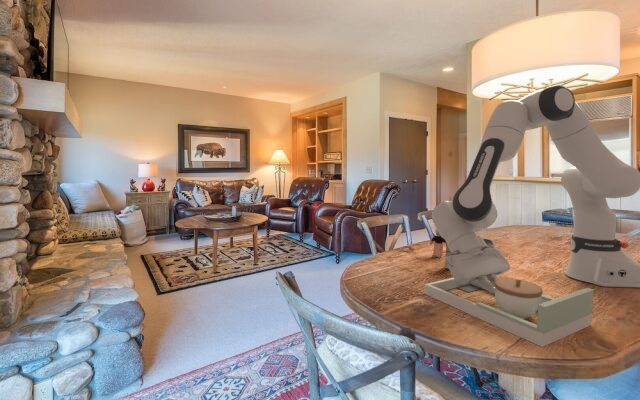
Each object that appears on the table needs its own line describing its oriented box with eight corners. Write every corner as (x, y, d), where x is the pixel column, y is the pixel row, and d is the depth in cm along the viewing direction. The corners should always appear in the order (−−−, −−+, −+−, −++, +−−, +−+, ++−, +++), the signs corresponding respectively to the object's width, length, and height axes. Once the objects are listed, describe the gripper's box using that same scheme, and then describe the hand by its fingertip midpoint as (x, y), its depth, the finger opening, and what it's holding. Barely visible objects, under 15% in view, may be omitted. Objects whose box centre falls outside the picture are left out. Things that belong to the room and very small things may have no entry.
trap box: (424, 293, 102) (424, 284, 102) (469, 282, 111) (469, 273, 111) (542, 346, 72) (542, 333, 71) (590, 325, 81) (591, 313, 81)
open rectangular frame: (476, 306, 86) (477, 283, 85) (524, 291, 95) (525, 271, 94) (543, 334, 71) (544, 307, 71) (592, 313, 81) (594, 289, 80)
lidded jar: (539, 328, 80) (542, 290, 79) (489, 315, 86) (492, 281, 85) (540, 311, 89) (543, 277, 88) (495, 301, 95) (498, 269, 94)
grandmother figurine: (428, 257, 142) (429, 228, 140) (429, 255, 145) (430, 226, 144) (448, 259, 139) (449, 229, 137) (448, 257, 142) (449, 227, 141)
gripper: (448, 247, 92) (478, 293, 85) (496, 239, 102) (526, 280, 94) (436, 259, 97) (462, 303, 89) (482, 250, 106) (510, 290, 98)
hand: (496, 291), depth 92 cm, fingers closed, pressing on lidded jar
